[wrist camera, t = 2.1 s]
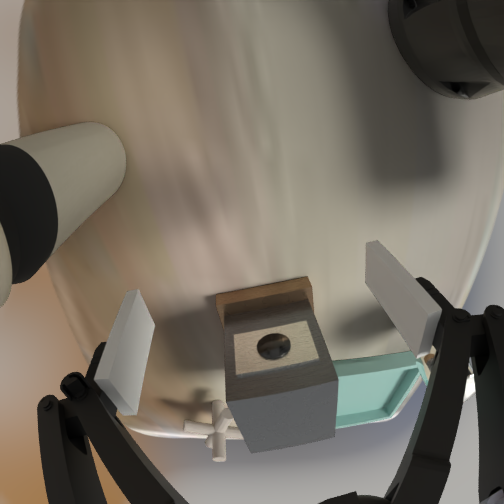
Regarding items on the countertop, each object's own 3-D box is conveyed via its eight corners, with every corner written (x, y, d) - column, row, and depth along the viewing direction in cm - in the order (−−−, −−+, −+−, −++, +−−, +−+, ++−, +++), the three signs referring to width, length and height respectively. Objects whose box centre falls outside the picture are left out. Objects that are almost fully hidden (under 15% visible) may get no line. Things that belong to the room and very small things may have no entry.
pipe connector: (239, 422, 45) (243, 473, 36) (180, 413, 43) (177, 466, 34) (260, 390, 41) (267, 448, 32) (192, 378, 39) (189, 440, 30)
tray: (331, 361, 39) (337, 376, 37) (419, 349, 41) (427, 362, 38) (309, 418, 46) (313, 431, 44) (386, 405, 48) (391, 417, 45)
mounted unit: (216, 294, 32) (214, 392, 21) (307, 276, 32) (345, 366, 21) (240, 370, 38) (247, 455, 27) (313, 355, 38) (338, 437, 27)
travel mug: (128, 119, 23) (-8, 157, 7) (128, 202, 27) (32, 329, 11) (55, 124, 22) (-91, 175, 6) (59, 201, 26) (-56, 305, 10)
